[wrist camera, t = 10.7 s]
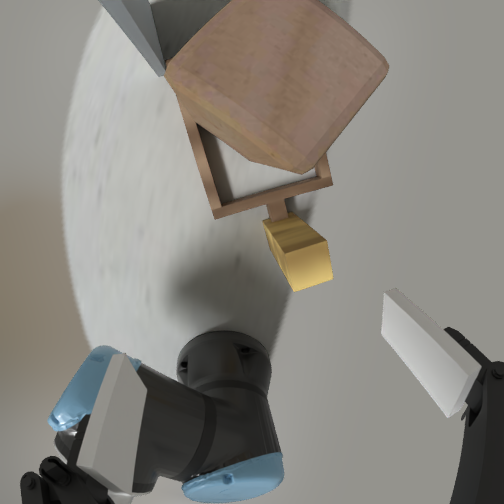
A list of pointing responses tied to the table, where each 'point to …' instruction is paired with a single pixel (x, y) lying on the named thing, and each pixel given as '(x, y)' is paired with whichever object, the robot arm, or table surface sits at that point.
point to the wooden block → (276, 79)
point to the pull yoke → (275, 217)
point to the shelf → (138, 29)
